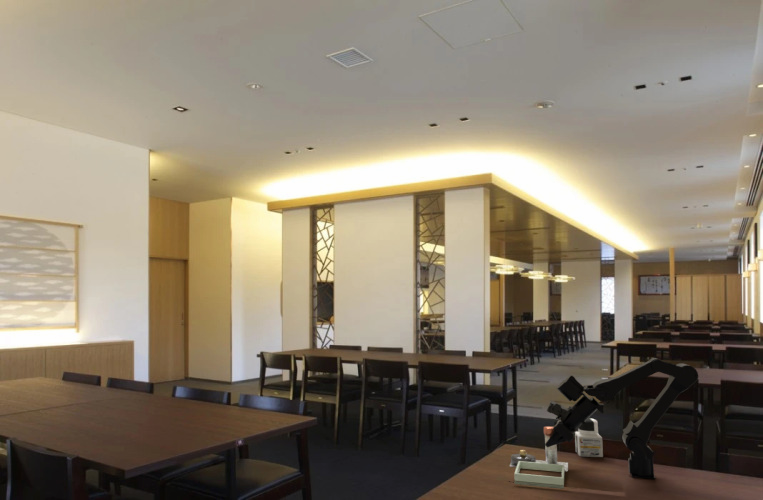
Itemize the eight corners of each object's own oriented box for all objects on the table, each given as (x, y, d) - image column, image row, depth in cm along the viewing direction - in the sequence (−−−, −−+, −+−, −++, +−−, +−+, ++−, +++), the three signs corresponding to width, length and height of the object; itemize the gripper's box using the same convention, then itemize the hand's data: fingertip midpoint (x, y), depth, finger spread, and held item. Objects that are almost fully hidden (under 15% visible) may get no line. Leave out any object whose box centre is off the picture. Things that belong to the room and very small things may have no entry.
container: (579, 459, 187) (578, 420, 188) (575, 453, 194) (574, 416, 196) (603, 460, 186) (601, 421, 187) (598, 454, 193) (596, 416, 194)
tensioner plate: (568, 465, 179) (567, 450, 180) (567, 474, 170) (567, 458, 170) (512, 461, 185) (512, 446, 186) (509, 469, 176) (509, 453, 176)
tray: (564, 474, 170) (564, 464, 170) (563, 488, 156) (563, 478, 157) (518, 470, 174) (518, 461, 175) (514, 484, 161) (514, 473, 161)
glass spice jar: (558, 464, 177) (557, 426, 179) (558, 467, 174) (556, 429, 175) (545, 463, 179) (543, 426, 180) (544, 466, 175) (543, 428, 176)
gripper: (561, 389, 186) (529, 419, 189) (560, 397, 169) (525, 431, 171) (587, 413, 183) (554, 444, 185) (588, 425, 165) (552, 459, 168)
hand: (546, 444), depth 177 cm, fingers closed on glass spice jar, 4 cm apart
